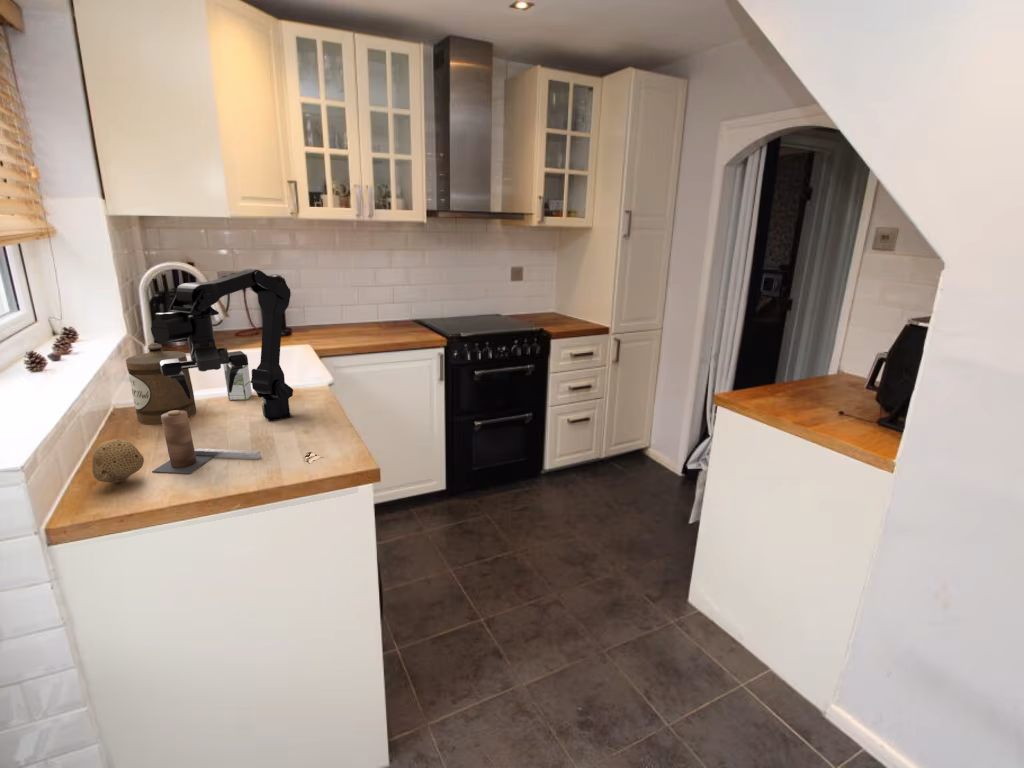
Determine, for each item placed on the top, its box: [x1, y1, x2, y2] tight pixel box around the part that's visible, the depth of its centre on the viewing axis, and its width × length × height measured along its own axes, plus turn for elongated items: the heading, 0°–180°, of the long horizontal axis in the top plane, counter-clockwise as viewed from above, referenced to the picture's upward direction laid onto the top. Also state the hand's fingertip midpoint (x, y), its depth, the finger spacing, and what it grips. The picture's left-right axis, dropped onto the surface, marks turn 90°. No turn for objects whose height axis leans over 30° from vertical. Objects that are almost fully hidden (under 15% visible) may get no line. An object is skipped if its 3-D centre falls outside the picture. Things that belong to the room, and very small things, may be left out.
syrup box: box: [222, 352, 253, 401], centre depth 173 cm, size 6×6×14 cm
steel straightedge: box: [194, 447, 262, 460], centre depth 132 cm, size 18×2×2 cm, turn 86°
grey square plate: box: [151, 456, 214, 475], centre depth 128 cm, size 9×9×1 cm
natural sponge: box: [91, 438, 145, 484], centre depth 118 cm, size 9×9×10 cm
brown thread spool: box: [161, 410, 196, 468], centre depth 126 cm, size 5×5×13 cm
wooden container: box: [125, 342, 197, 426], centre depth 155 cm, size 15×15×22 cm
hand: (210, 395), depth 137 cm, fingers open, 9 cm apart
